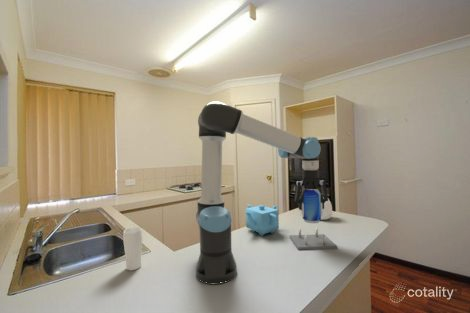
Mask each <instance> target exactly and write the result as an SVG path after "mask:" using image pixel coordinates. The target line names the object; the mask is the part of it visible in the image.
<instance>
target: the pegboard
mask: <svg viewBox="0 0 470 313" xmlns="http://www.w3.org/2000/svg"><path fill="white" fill-rule="evenodd" d="M314 232H315V233H314V234H302V228H298V234H294V235H293V234H292V235H291V234H290V235H289V236H288V239H290V241H291V242H292V245H294V247H295V248H296V249H297V250H298V251H303V250H307V251H308V250H327V249H328V250H331V249H332V250H333V249H338V245H337V244H336V243H334V241H332V240H331V239H330V238H329V237H328V236H326V234H324V233H320V234H319V228H315V230H314Z"/></svg>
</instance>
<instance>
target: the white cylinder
mask: <svg viewBox="0 0 470 313" xmlns="http://www.w3.org/2000/svg"><path fill="white" fill-rule="evenodd" d="M122 240H123V249H124V257H125V263H126V264H125V266H126V270H127V271H136V270H138V269H139V268H141V266H142V250H143V229H142V228H141V227H136V226H135V227H129V228H126V229H125V230H123V235H122Z"/></svg>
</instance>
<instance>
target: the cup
mask: <svg viewBox="0 0 470 313" xmlns="http://www.w3.org/2000/svg"><path fill="white" fill-rule="evenodd" d="M322 211H323V216H322V217H321V220H323V221H325V220H326V221H327V220H329V219H330V218H332V215H333V206H332V202H331V201H330V199H329V198H328V201H326V202H325V203H324V209H322ZM321 220H320V221H321Z"/></svg>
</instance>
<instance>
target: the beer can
mask: <svg viewBox="0 0 470 313" xmlns="http://www.w3.org/2000/svg"><path fill="white" fill-rule="evenodd" d="M319 191H320V189H319V190H318V189H312V188H311V189H307V190H306V191H305V192H304V199H303V202H302V203H304V217H302V219H303V221H304V222H305V223H307V224H318V223H320V221H321V198H320V193H321V191H320V192H319Z"/></svg>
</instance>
